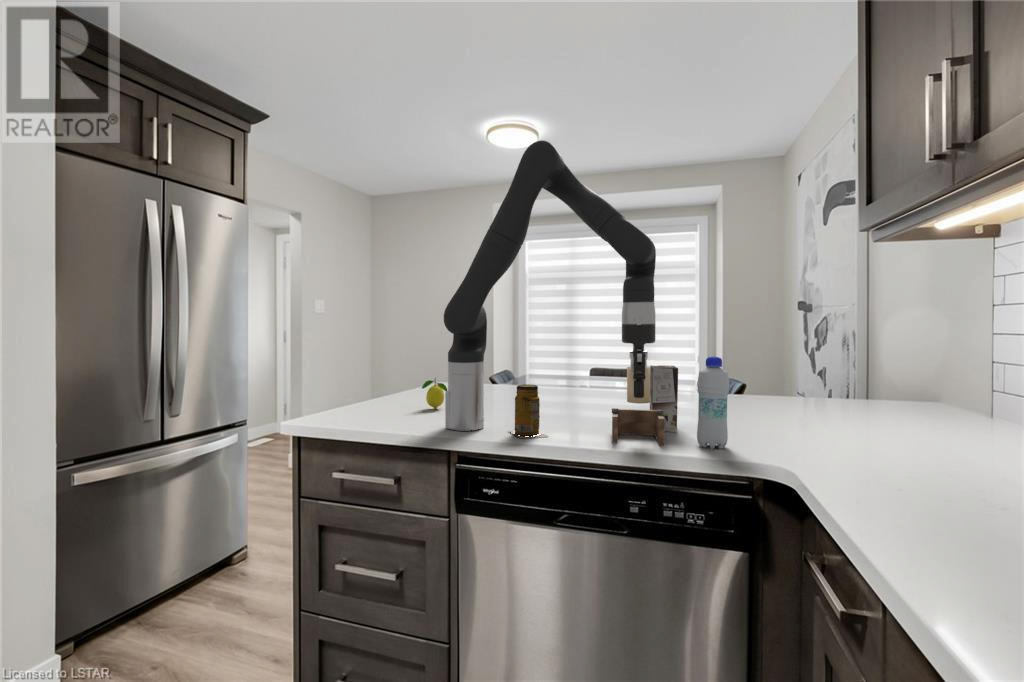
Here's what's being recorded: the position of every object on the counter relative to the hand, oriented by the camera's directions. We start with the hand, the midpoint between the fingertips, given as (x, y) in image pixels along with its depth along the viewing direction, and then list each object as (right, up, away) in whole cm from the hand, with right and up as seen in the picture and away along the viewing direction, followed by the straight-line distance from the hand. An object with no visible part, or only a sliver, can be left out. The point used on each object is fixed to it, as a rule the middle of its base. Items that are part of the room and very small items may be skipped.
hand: (638, 395), depth 117 cm
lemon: (-54, -9, +42) cm, 69 cm away
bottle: (+15, -11, -5) cm, 19 cm away
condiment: (-25, -11, +7) cm, 28 cm away
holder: (0, -10, +2) cm, 11 cm away
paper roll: (0, -1, 0) cm, 1 cm away
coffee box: (+10, -10, +15) cm, 20 cm away
